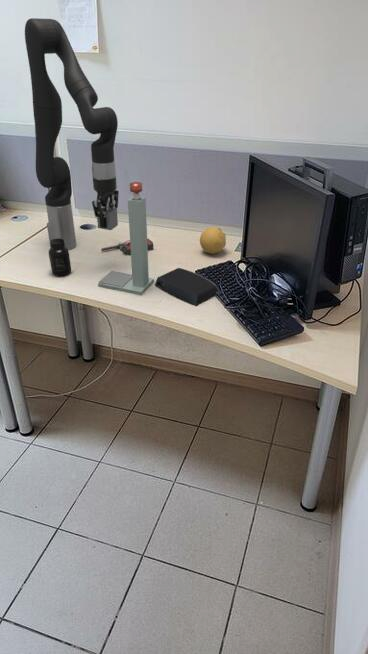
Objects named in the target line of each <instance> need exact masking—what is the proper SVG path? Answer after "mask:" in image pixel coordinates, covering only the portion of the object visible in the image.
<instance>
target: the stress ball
mask: <svg viewBox="0 0 368 654" xmlns="http://www.w3.org/2000/svg"><path fill="white" fill-rule="evenodd" d="M226 237H227V236H226V234H225V233H224V231H223V230H222V229H221V228H220V227H215V226H214V227H213V226H211V227H207V228H206V229H204V230H203V231H202V232H201V234H200V237H199V245H200V247H201V249H202V250H203V251H204V252H206V253H208V254H211V255H215V254H217V253H220V252H221V251H222V250H223V249H224V248H225V247H226V244H227V241H226V240H227V238H226Z"/></svg>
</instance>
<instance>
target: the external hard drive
mask: <svg viewBox="0 0 368 654" xmlns="http://www.w3.org/2000/svg"><path fill="white" fill-rule="evenodd" d="M154 286H155V287H156V288H158V289H159V290H160V291H163V292H164V293H166V294H168V295H169V296H172V297H174V298H176V299H178V300H180V301H182V302H184V303H187V304H188V305H191V306H194V307H197V306H200V305H201V304H203V303H204V302H206V301H208V300H210V299H212V298H215V295H216V292H217V291H218V290H219V291H220V289H219V287H218V286H217V284H216V283H215V282H213V281H211V280H210V279H208V278H206V277H204V276H203V275H201V274H198V273H196V272H193V271H191V270H189V269H184V268H181V267H177V268H175V269H173V270H171V271H168V272H167V273H164V274H162V275H159V276H157V278H156V280H155V281H154ZM216 296H217V295H216Z"/></svg>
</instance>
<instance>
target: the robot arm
mask: <svg viewBox="0 0 368 654" xmlns="http://www.w3.org/2000/svg"><path fill="white" fill-rule="evenodd" d="M24 40H25V41H24V42H25V47H26V48H25V49H26V54H27V59H28V60H27V61H28V67H29V74H30V80H31V81H30V83H31V93H32V109H33V110H32V111H33V119H34V133H35V136H34V137H35V174H36V178H37V181H38V183H39V184H40V186H42V187H43V188H46V189H49V188H50V189H49V191H48V193H46V195H45V196H44V200H45V201H44V202H45V207H46V213H47V220H48V222H46V228H47V233H48V240H49V242H50V241H51V240H53V239H63V240H64V243H65V247H67V248H68V250H72V249H74V248H76V246H77V239H76V231H75V221H74V215H73V207H72V201H71V200H72V194H73V189H72V176H71V170H70V167H69V164H68V162H67V161H66V160H65V159H64V158H63V157H60V156H55V146H56V142H57V140H58V136H59V135H60V133H61V132H60V131H61V129H62V125H63V105H62V99H61V96H60V93H59V92H58V90H57V89H56V86H55V85H54V82H52V79H51V78H50V76H49V74H48V71H47V64H46V60H45V59H46V56H45V54H46V55H47V54H48V55H49V54H52V55H53V54H55V55H56V56H57V57H58V58H59V60H60V61H61V62H62V65H63V81H64V85H65V88H66V90H67V92H68V93H69V95H70V98H71V99H72V100H73V101H74V103H75V104H76V107H77V110H78V112H79V116H80V119H81V122H82V125H83V127H84V129H85V131H87V132H88V133H89V134H91V135H98V134H100V135H99V138H97V139H96V140H94V141H92V143H91V144H90V152H91V172H92V186H93V187H92V188H93V190H94V191H95V192H96V200H92V202H91V204H92V208H93V212H94V216H95V217H96V218H97V217H99V218H100V227H101V228H107V221H106V213H107V211H108V207H111V208H117V209H118V208H119V193H120V192H119V190H117V188H118V187H117V171H116V170H117V169H116V163H115V152H114V146H115V142H116V136H117V131H118V126H119V125H118V116H117V114H116V112H115V110H114V109H113V108H111V107H108V106H104V107H96V108H95V106H96V105H97V104H98V100H99V96H98V94H97V92H96V90H95V89H94V87H93V85H92V84H91V83H90V81H89V79H88V78H87V76H86V75H85V73H84V71H83V68H82V67H81V65H80V63H79V60H78V58H77V56H76V54H75V51H74V49H73V47H72V45H71V42H70V41H69V38H68V35H67V33H66V32H65V30H64V28H63V26H62V24H61V23H60V22H59V20H56V19H53V18H35V17H34V18H29V19H27V20H26V22H25V25H24ZM102 207H105V208H102ZM102 210H103V211H104V213H103V212H102ZM95 217H94V218H95ZM101 228H100V229H101Z"/></svg>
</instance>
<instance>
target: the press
mask: <svg viewBox="0 0 368 654" xmlns="http://www.w3.org/2000/svg"><path fill="white" fill-rule="evenodd" d="M146 202H147V200H146V197H143V196H140V200H134V195H133V196H132V197H130V198H128V199H127V209H128V211H127V212H128V229H129V240H130V247H131V255H130V262H131V273H127V272H126V273H125V272H120V271H117V270H110V271H109V272H108V273H107V274H106V275H105V276H104V277H102V278H101V279H100V280H99V281H98V282H97V286H98V287H100V288H104V289H109V290H113V291H117V292H123V293H127V294H128V293H129V294H133V295H137V296H142V295H143V294H144V293H145V292H146V291H147V290H148V289H149V288H150V287H151V286H152V285H153V284H154V283H155V279H154V278H152V277H149V255H148V253H149V251H148V248H147V238H148V226H147V225H148V223H147V203H146Z"/></svg>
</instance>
